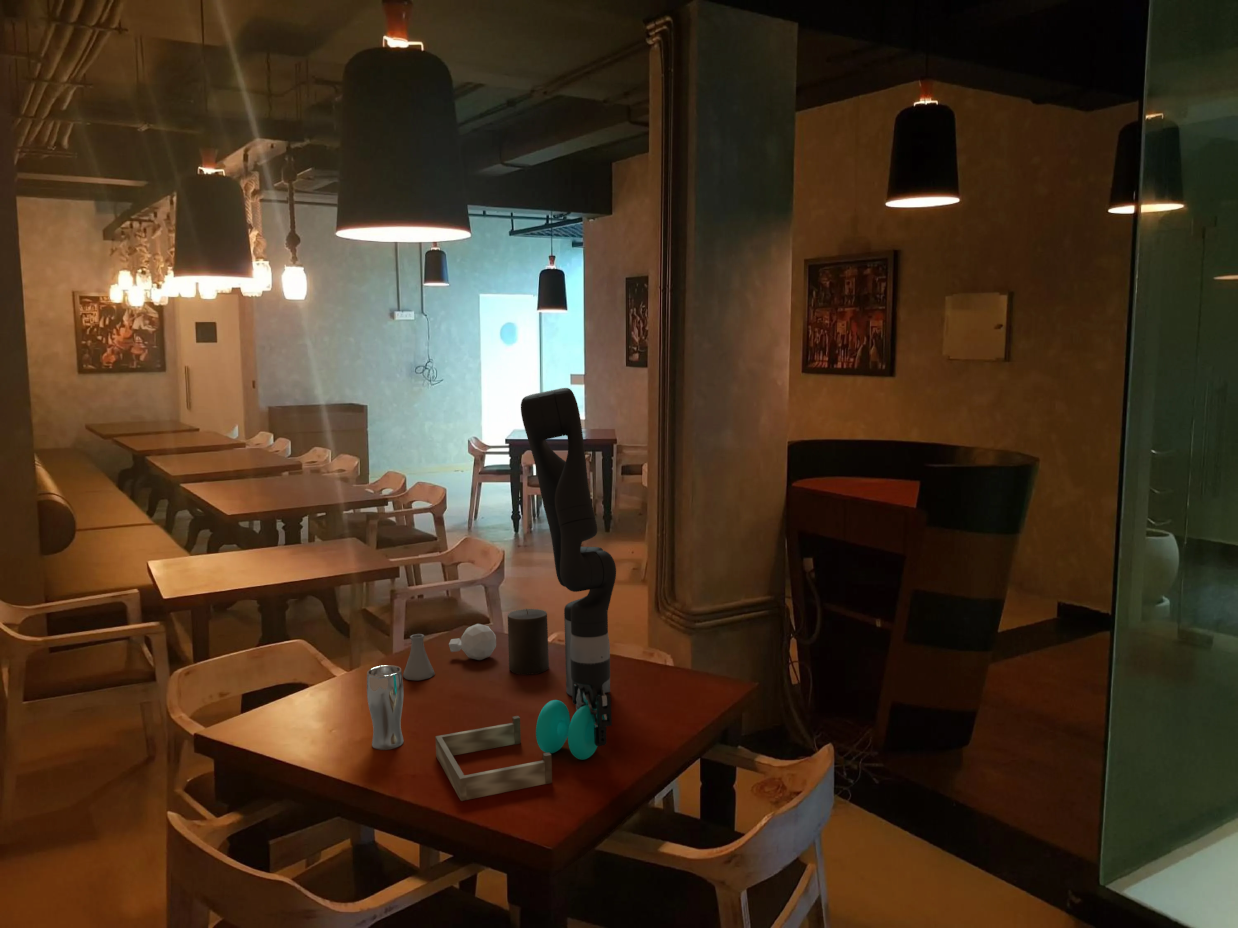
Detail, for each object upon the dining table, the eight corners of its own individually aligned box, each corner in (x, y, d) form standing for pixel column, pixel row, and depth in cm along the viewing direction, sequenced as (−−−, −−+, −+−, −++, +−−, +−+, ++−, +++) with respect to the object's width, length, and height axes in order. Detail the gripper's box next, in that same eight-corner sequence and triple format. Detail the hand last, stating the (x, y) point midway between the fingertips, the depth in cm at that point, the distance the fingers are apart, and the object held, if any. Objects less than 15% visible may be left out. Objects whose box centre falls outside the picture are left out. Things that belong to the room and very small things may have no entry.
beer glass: (372, 753, 182) (368, 678, 180) (367, 740, 188) (363, 667, 187) (408, 747, 185) (405, 673, 183) (402, 734, 191) (398, 662, 189)
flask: (420, 669, 231) (418, 629, 230) (440, 674, 227) (438, 634, 225) (397, 677, 225) (395, 637, 224) (417, 683, 221) (416, 642, 220)
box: (519, 740, 187) (518, 715, 186) (552, 782, 168) (551, 754, 168) (436, 755, 180) (435, 729, 180) (461, 801, 162) (459, 772, 161)
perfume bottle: (503, 644, 243) (459, 649, 245) (495, 615, 239) (450, 619, 241) (496, 665, 235) (450, 669, 237) (487, 635, 231) (441, 639, 233)
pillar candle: (536, 677, 224) (534, 615, 222) (501, 671, 228) (499, 611, 226) (556, 664, 232) (554, 605, 230) (522, 659, 236) (520, 601, 235)
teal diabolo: (559, 740, 187) (558, 691, 186) (604, 748, 183) (603, 698, 181) (533, 760, 178) (532, 709, 177) (580, 769, 174) (579, 717, 172)
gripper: (623, 663, 175) (624, 747, 176) (594, 642, 188) (596, 720, 189) (585, 669, 172) (587, 754, 174) (558, 647, 185) (561, 727, 187)
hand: (592, 736), depth 181 cm, fingers open, 8 cm apart
